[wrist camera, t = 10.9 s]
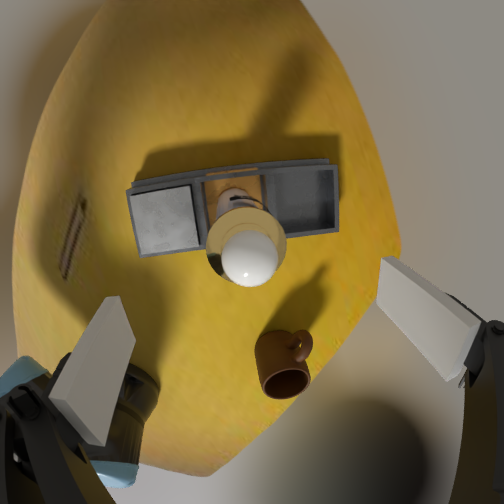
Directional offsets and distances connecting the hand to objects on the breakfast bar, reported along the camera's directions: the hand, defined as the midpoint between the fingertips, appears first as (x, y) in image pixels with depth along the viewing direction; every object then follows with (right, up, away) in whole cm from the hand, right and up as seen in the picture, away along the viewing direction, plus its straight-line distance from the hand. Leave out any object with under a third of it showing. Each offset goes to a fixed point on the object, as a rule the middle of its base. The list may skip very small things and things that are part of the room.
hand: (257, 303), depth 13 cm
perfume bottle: (-2, +8, +22) cm, 24 cm away
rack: (-3, +9, +23) cm, 25 cm away
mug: (+5, -12, +32) cm, 34 cm away
